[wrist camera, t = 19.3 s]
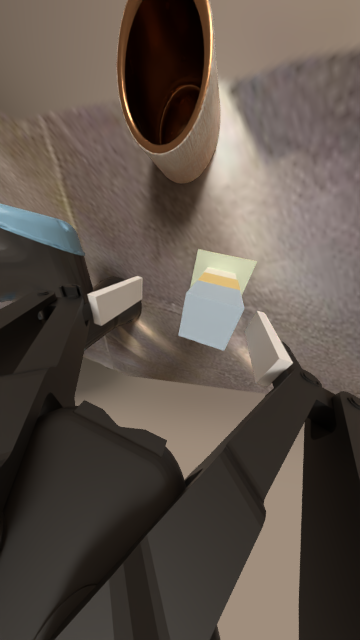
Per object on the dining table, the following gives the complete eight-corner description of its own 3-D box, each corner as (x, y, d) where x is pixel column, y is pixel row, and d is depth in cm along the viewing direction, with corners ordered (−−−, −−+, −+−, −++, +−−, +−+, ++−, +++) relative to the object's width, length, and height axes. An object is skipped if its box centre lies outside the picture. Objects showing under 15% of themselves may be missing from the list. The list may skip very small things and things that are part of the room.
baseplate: (188, 298, 35) (180, 309, 29) (199, 249, 28) (191, 250, 22) (233, 311, 32) (234, 326, 27) (256, 261, 26) (263, 265, 20)
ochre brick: (196, 301, 27) (189, 314, 22) (204, 271, 23) (198, 279, 18) (225, 309, 25) (224, 325, 21) (237, 280, 22) (240, 290, 17)
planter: (224, 165, 21) (222, 118, 13) (167, 196, 25) (139, 175, 17) (215, 49, 16) (202, -130, 9) (146, 111, 21) (97, 30, 13)
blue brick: (189, 315, 22) (178, 335, 17) (197, 280, 18) (186, 292, 14) (225, 325, 21) (223, 350, 16) (239, 290, 17) (244, 308, 12)
